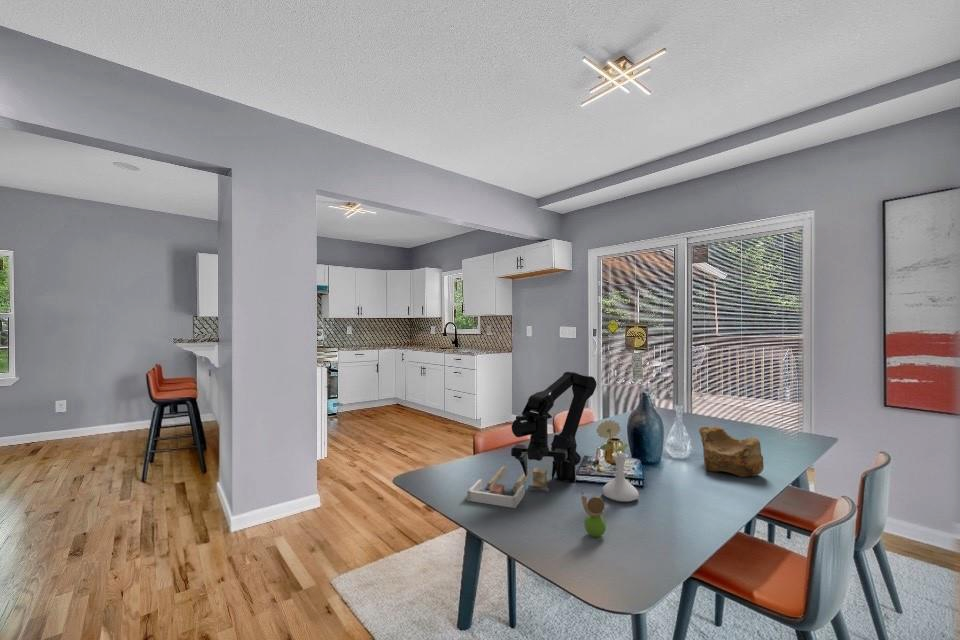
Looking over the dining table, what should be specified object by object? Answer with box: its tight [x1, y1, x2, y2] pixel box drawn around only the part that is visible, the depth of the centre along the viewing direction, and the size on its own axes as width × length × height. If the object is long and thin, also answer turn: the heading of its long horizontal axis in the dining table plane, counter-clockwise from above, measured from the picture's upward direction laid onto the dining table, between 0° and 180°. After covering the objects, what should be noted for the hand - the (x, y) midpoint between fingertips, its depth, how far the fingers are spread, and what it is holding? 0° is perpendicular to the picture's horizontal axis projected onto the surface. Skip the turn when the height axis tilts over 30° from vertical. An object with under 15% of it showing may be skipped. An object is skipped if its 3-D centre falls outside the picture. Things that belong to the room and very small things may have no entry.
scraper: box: [527, 467, 550, 493], centre depth 143 cm, size 7×5×6 cm, turn 70°
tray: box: [466, 478, 526, 509], centre depth 136 cm, size 16×11×3 cm
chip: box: [489, 487, 502, 495], centre depth 135 cm, size 3×3×3 cm
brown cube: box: [492, 483, 505, 495], centre depth 138 cm, size 3×3×3 cm
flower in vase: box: [595, 419, 640, 503], centre depth 135 cm, size 13×11×25 cm
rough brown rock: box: [698, 426, 765, 478], centre depth 159 cm, size 23×16×15 cm
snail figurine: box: [580, 490, 607, 538], centre depth 111 cm, size 5×6×12 cm
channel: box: [486, 465, 530, 494], centre depth 149 cm, size 10×18×2 cm, turn 159°
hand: (539, 477), depth 143 cm, fingers open, 9 cm apart
